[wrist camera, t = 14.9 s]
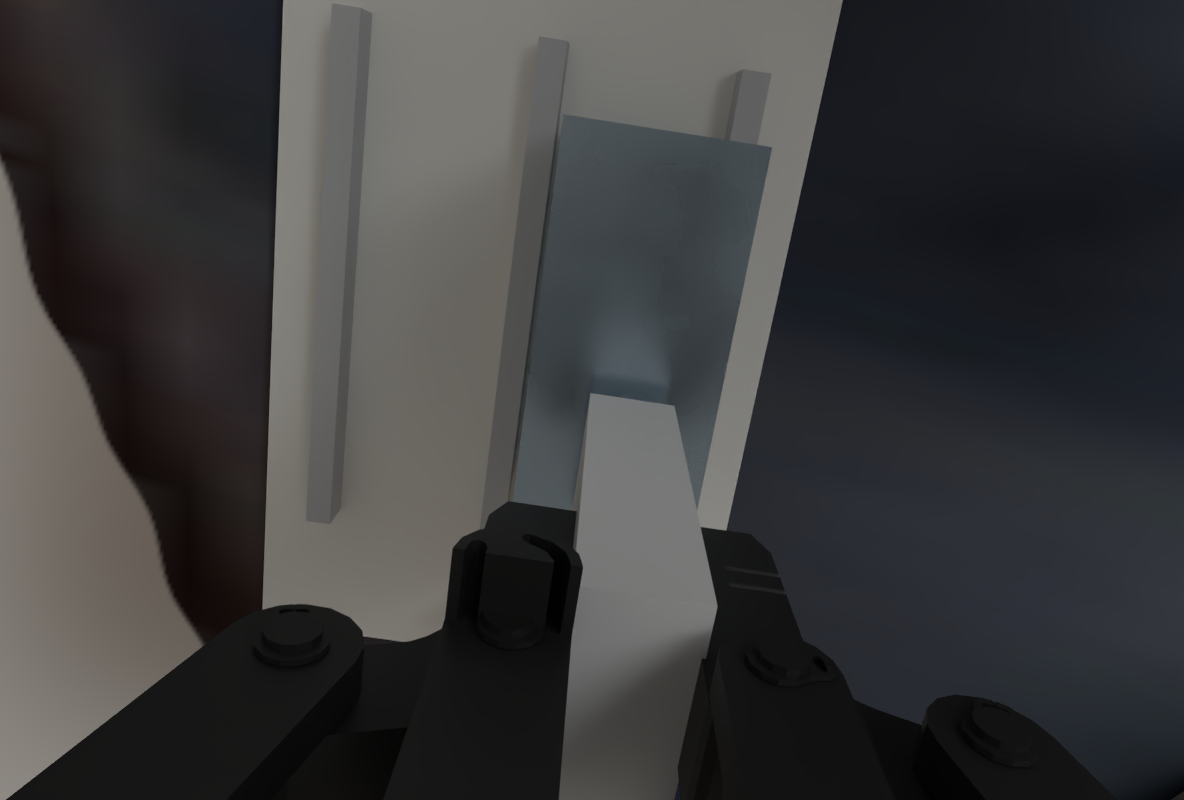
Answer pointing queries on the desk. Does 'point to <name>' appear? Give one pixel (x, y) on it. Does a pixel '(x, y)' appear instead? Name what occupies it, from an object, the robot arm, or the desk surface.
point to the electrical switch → (1179, 797)
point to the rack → (476, 255)
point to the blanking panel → (636, 289)
